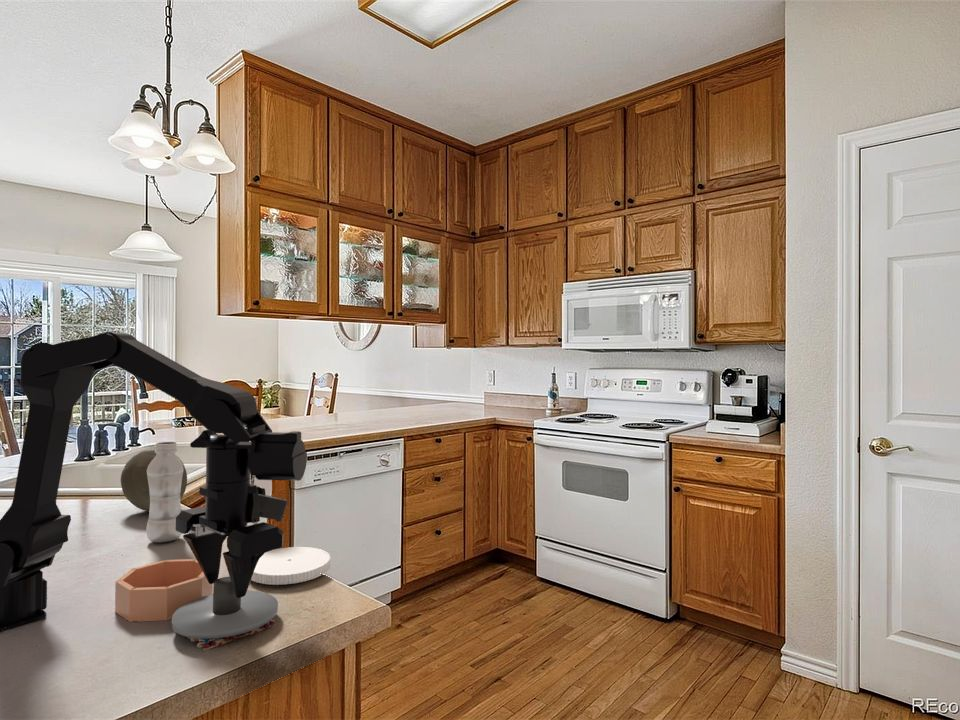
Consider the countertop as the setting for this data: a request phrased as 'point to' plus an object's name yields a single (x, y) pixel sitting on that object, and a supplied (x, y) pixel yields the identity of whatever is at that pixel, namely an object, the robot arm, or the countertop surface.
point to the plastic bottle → (164, 493)
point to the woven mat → (225, 639)
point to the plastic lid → (291, 565)
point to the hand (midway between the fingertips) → (226, 589)
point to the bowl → (159, 589)
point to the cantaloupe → (142, 480)
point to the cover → (224, 612)
